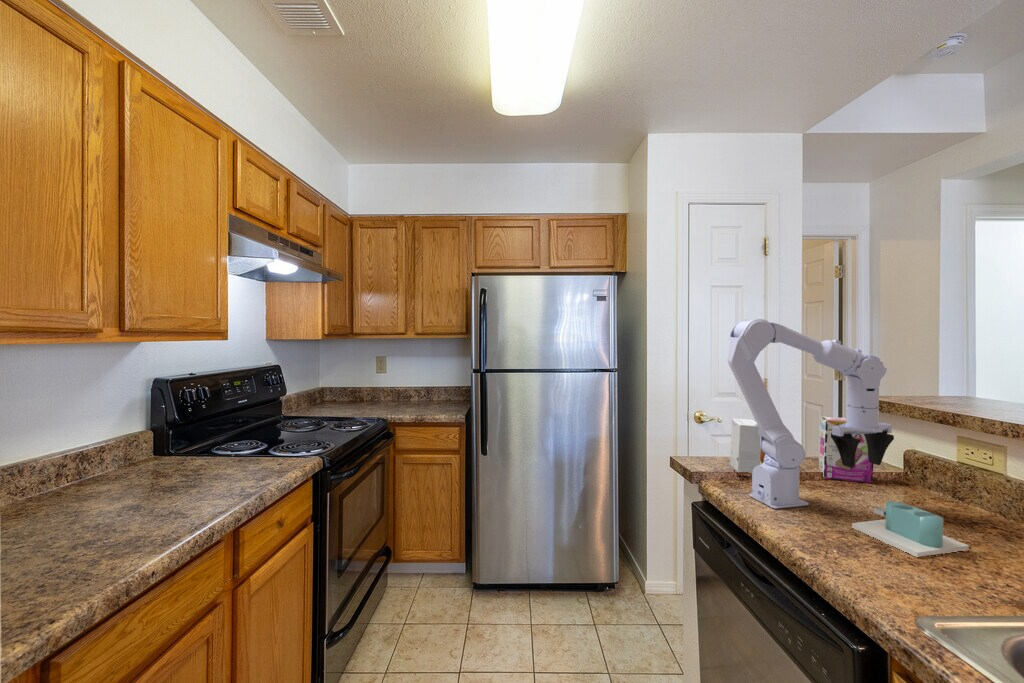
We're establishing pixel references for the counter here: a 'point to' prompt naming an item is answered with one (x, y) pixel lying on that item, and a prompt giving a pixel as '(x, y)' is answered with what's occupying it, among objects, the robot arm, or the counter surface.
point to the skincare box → (745, 445)
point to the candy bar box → (832, 460)
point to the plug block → (913, 523)
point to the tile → (906, 540)
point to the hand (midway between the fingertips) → (861, 464)
